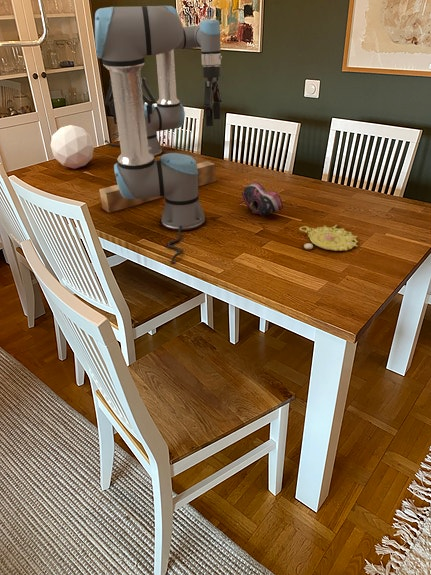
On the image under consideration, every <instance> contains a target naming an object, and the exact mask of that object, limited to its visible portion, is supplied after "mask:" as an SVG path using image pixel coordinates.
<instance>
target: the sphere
mask: <svg viewBox="0 0 431 575" xmlns="http://www.w3.org/2000/svg"><path fill="white" fill-rule="evenodd" d="M50 148H51V152H52V155H53V158H54V159H55V160H56V161H57V162H58V163H60V164H61V165H62V166H63V167H66V168H70V169H72V170H73V169H74V170H75V169H79V168H82V167H84V166H86V165H87V164H88V163H89V162H91V160H93V157H94V149H95V146H94V142H93V138H92V136H91V135H90V134H89V133H88V132H87V131H86V130H85V129H84V128H83V127H82V126H81V127H80V126H77V125H74V124H69V125H65V126H62V127H60V128H58V129H57V131H55V132H54V133H53V134H52V136H51V141H50Z"/></svg>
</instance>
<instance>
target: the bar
mask: <svg viewBox="0 0 431 575" xmlns="http://www.w3.org/2000/svg"><path fill="white" fill-rule="evenodd" d="M197 171H198V174H197V176H198V187H202V186H206V185H209V184H212V183H215V182H216V180H217V179H216V163H213V162H211V161H208V160H205V161H203V162H198V163H197ZM98 192H99V197H100V202H101V207H102V210H104V211H105V212H107V213H109V214H111V213H114V212H117V211H121V210H124V209H128V208H131V207H134V206H138V205H141V204H144V203H147V202H151V201H155V200H157V199H161V198H165V196H160V197H150V198H140V199H125V198H123V197H122V195H121V193H120V190H119V187H118V184H114V185H111V186H107V187H103V188H99V191H98Z"/></svg>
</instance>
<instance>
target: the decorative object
mask: <svg viewBox="0 0 431 575" xmlns="http://www.w3.org/2000/svg"><path fill="white" fill-rule="evenodd" d="M303 228H304V229H305V230H304V229H303ZM299 231H300V232H303V233H305V234H307V237H308V238H309V240H310V241H311V243H304V244H303V248H304V249H305V250H313V249H314V245H315V246H316V247H318V248H321V249H324V250H328V251H335V252H341V251H348V250H352V249H354V247H356V248H358V247H359V245H358V244H357V243H359V240H357V238H359V237H358V235H353V234H352V231H347V230H346V229H345V228H344V227H342V228H338V224H335V225H333V226H331V227H328V226H327V225H326V224H325V225H323V226H322V227H321V226H317V227H316V228H314V227H309V226H308V225H302V226H300V227H299ZM313 244H314V245H313Z"/></svg>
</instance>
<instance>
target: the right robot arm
mask: <svg viewBox="0 0 431 575" xmlns="http://www.w3.org/2000/svg"><path fill="white" fill-rule="evenodd" d="M155 6H156V5H145V6H142V5H141V6H108V7H101V8H98V9H97V10H96V11H95V12H94V40H95V56H96V58H98V59H101V60H102V65H103V67H105V69H107V70H108V72H109V76H110V79H109V80H108V81H109V82H108V83H109V85H108V88H107V92H106V95H105V99H104V102H103V104H104V106H108V108H109V112H110V115H111V116H112V117H113V124H114V125H116V126H117V132H118V139H119V145H120V146H119V147H120V154H119V155H118V157H117V160H116V161H117V162H116V163H115V164H113V170H114V175H115V179H116V180H115V181H116V183H117V184H116V185H118V187H119V190H120V193H121V195H122V197H123V198H125V199H140V198H150V197H160V196H165V197H164V204H163V209H162V213H161V219H160V220H161V225H162V227H163V228H165V229H167V230H170V231H175V232H176V231H177V232H178V233H177V234H178V236H177V238H176V239H174V240H172V241H169V242H168V243H167V246H168V248H170V249H173V250H177V251H178V252H176V253H175V254H174V255H173V256H172V257H171V261H170V265H174V261H175V259H176V257H178V256H179V255H181V254H182V249H181V247H178V246H174V245H172V244H175V243H178V242H179V241H180V240H181V237H182V235H181V234H182V232H185V231H186V232H187V231H192V230H195V229H198V228H201V227H202V226H203V225H204V224H205V223H206V217H205V212H204V210H203V208H202V204H201V202H200V196H199V186H198V176H197V174H198V171H197V164H198V163H197V161H196V159H195V158H194V157H193V156H191V155H188V154H184V153H177V152H171V153H169V152H168V153H164V154H162V155H161V156H160V160H155V156H154V155H153V154H152V153H150V152H149V150H148V140H147V131H146V121H145V112H144V104H148V105H147V106H146V107H147V117H148V123H151V117H150V114H152V112H153V111H152V104H153V105H155V104H157V99H156V98H155V96H154V94H153V92H152V91H151V89H150V87H149V85H148V83H147V79H146V77H142V74H141V69H142V67H143V66H144V65H145V64H146V60H145V57H146V56H156V55H158V54H162V53H166V52H168V51H171V50H173V49H174V50H176V49H175V48H176V47H177V46H178V45H179V44H180V43H181V41H182V38H183V27H184V25H183V23H182V21H181V18H180V17H179V18H180V19H179V18H178V16H177V15H175V14H174V13H173V12H171V11H169V10H166V9H164V8H161V7H155ZM143 89H144V90H145V91H146V94H147V95H146V94H145V93H144V92H143ZM111 97H112V99H111ZM110 99H111V100H110ZM144 102H145V103H144Z"/></svg>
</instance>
